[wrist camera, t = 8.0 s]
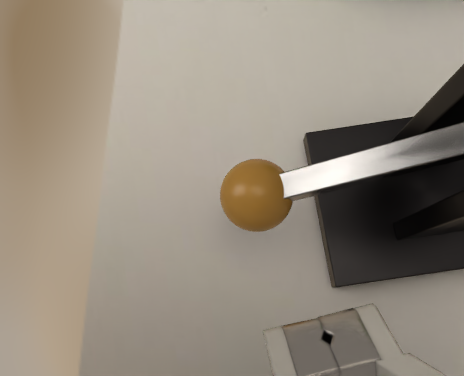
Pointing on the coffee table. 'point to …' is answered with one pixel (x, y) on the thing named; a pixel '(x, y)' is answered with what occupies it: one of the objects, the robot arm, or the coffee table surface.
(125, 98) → the coffee table surface
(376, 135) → the black lever stand
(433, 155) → the tap lever
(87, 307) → the coffee table surface
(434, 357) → the coffee table surface
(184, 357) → the coffee table surface
